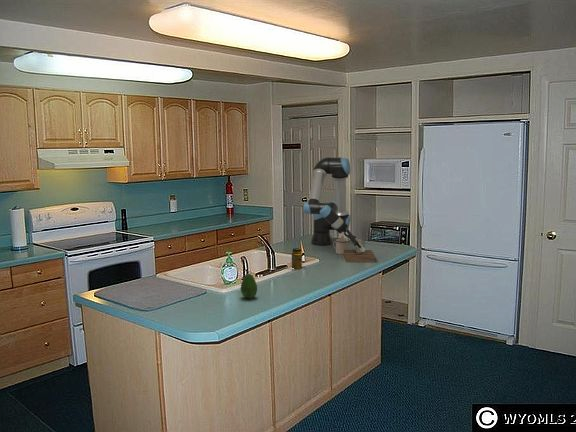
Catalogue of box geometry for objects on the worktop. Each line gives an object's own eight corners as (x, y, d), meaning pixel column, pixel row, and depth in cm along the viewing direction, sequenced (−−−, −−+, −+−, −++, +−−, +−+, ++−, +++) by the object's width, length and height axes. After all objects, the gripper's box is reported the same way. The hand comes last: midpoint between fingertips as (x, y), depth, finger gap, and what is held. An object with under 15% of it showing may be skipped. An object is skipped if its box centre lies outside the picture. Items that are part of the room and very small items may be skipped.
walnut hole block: (343, 256, 339) (343, 249, 339) (370, 256, 339) (371, 249, 339) (346, 262, 324) (346, 255, 323) (374, 262, 323) (374, 255, 323)
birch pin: (355, 258, 333) (356, 239, 331) (361, 258, 333) (361, 239, 331) (356, 260, 329) (356, 240, 327) (361, 260, 329) (362, 240, 327)
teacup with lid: (351, 252, 350) (351, 236, 348) (343, 255, 343) (344, 238, 341) (336, 250, 358) (337, 233, 356) (329, 252, 351) (329, 235, 349)
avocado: (248, 294, 255) (248, 271, 253) (260, 297, 250) (260, 273, 248) (237, 298, 249) (237, 274, 247) (249, 301, 244) (248, 277, 242)
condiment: (304, 269, 306) (304, 249, 304) (292, 271, 302) (293, 250, 300) (297, 266, 312) (297, 247, 310) (286, 268, 308) (286, 248, 306)
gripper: (333, 226, 341) (355, 248, 343) (337, 233, 316) (360, 257, 318) (342, 218, 340) (364, 240, 342) (346, 224, 315) (369, 248, 318)
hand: (362, 248), depth 330 cm, fingers open, 13 cm apart
